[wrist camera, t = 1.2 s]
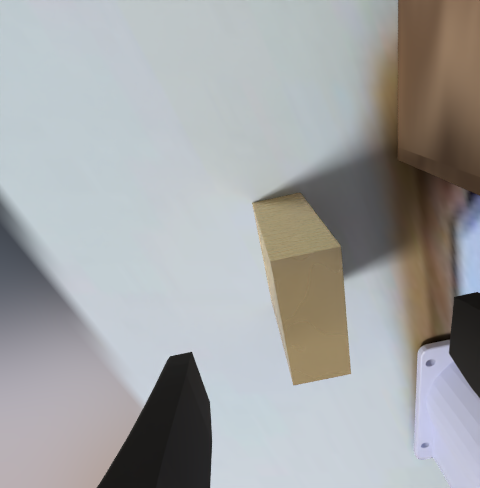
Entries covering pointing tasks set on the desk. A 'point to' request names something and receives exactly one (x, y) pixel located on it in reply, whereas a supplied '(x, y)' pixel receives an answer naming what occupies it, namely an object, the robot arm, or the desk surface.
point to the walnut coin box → (440, 89)
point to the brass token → (304, 287)
